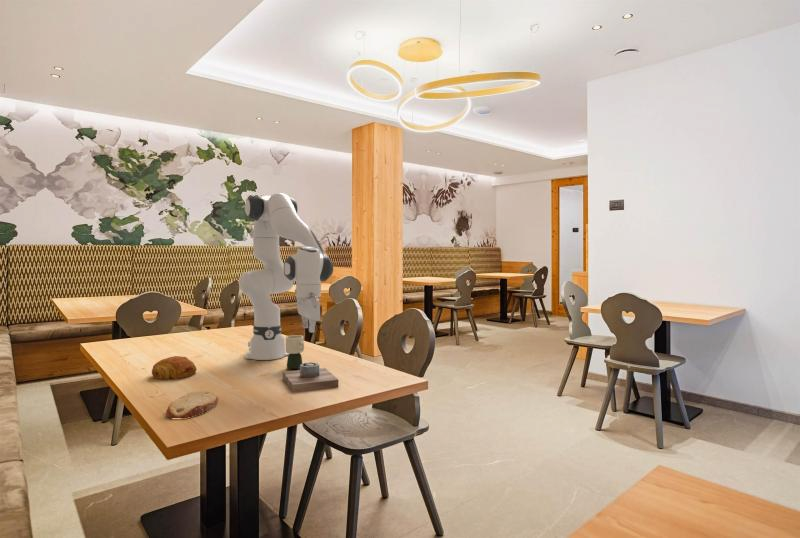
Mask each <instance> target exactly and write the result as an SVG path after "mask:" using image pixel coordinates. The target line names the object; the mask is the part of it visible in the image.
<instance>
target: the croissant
mask: <svg viewBox="0 0 800 538" xmlns="http://www.w3.org/2000/svg"><path fill="white" fill-rule="evenodd" d="M197 370H198V369H197V367H196V364H195V362H194V361H192V360H190V359H189V358H188V357H187V356H182V355H181V356H180V355H178V356H177V355H174V356H170V357H166V358H164V359H160V360H159V361H157V362H156V363H155V364H154V365H153V366H152V369H151V374H152V376H153V378H154V379H156V380H178V379H184V378H188V377H192V376H193V375H195V373H196V372H197Z"/></svg>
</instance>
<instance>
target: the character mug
mask: <svg viewBox="0 0 800 538" xmlns="http://www.w3.org/2000/svg"><path fill="white" fill-rule="evenodd" d="M304 350H305V341H304V335H301V334H299V335H297V334H293V335H292V334H291V335H287V336H285V351H286V353H289V355H287V360H286V368H287V369H289V370H293V369H296V370H299V369H300V364H303V357H302V353H304Z"/></svg>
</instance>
